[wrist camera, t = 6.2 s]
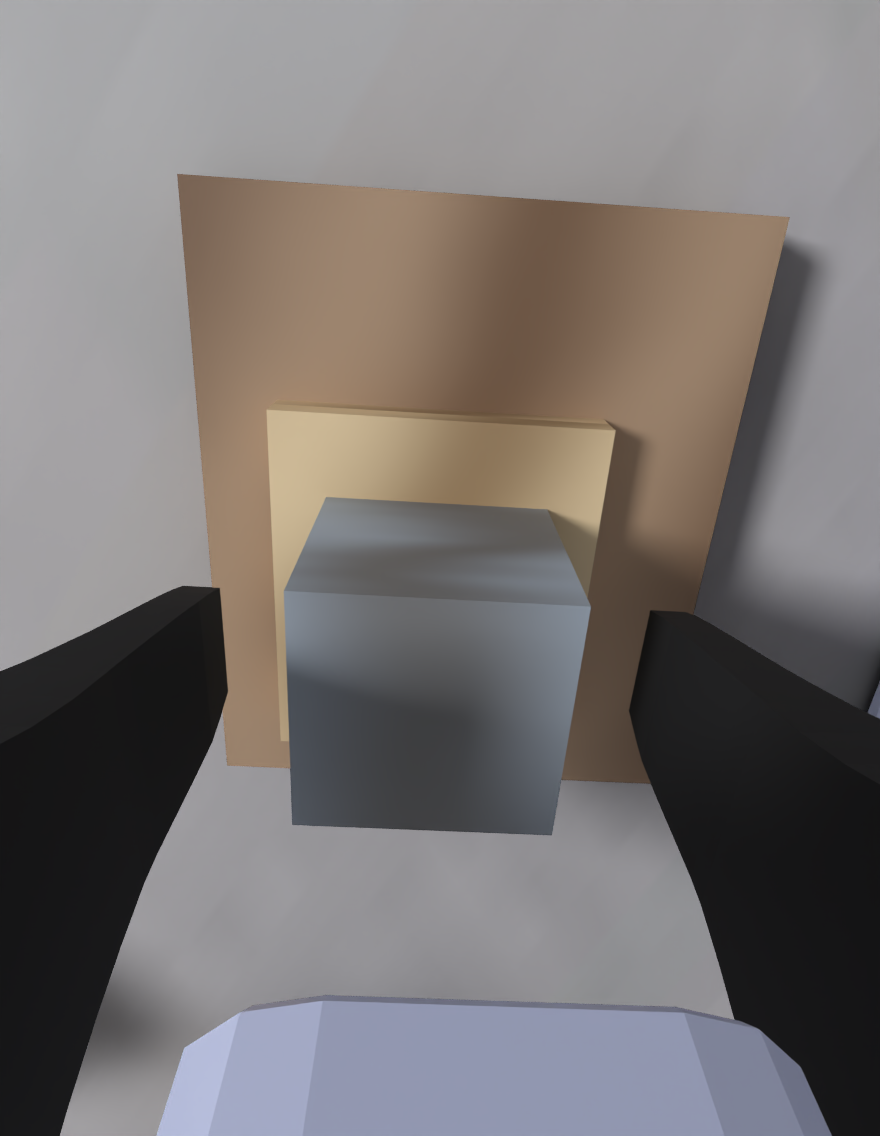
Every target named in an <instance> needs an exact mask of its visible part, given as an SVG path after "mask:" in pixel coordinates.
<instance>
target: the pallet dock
mask: <svg viewBox="0 0 880 1136" xmlns="http://www.w3.org/2000/svg"><path fill="white" fill-rule="evenodd" d="M177 176H178V188H179V199H180V211H181V223H182V235H183V247H184V259H185V270H186V282H187V294H188V306H189V318H190V329H191V341H192V353H193V365H194V377H195V389H196V400H197V412H198V424H199V436H200V448H201V460H202V471H203V483H204V495H205V507H206V519H207V531H208V542H209V554H210V566H211V578H212V587H213V588H220V595H221V607H222V620H223V632H224V645H225V658H226V670H227V683H228V694H227V697H226V700H225V704H224V707H223V720H224V732H225V743H226V755H227V765H228V766H251V767H275V768H290V748H289V741H281V736H280V713H279V690H278V667H277V643H276V620H275V597H274V574H273V550H272V527H271V504H270V481H269V457H268V434H267V411H266V410H267V409H268V408H269V407H270V406H271V405H272V404H273V403H274V402H276V401H277V400H291V401H307V402H324V403H340V404H357V405H374V406H390V407H407V408H423V409H440V410H457V411H473V412H490V413H506V414H523V415H539V416H556V417H573V418H589V419H604V420H605V421H606V422H607V423H608V424H609V425H610V426H611V427H612V428H613V429H614V430H616V431H615V437H614V443H613V449H612V455H611V461H610V467H609V473H608V479H607V485H606V491H605V497H604V503H603V509H602V515H601V520H600V526H599V532H598V538H597V544H596V550H595V556H594V562H593V568H592V574H591V580H590V586H589V592H588V598H587V599H588V601H589V603H590V606H591V610H590V616H589V621H588V627H587V633H586V639H585V645H584V650H583V656H582V662H581V668H580V674H579V679H578V685H577V691H576V697H575V703H574V709H573V714H572V720H571V726H570V732H569V738H568V743H567V749H566V755H565V761H564V767H563V773H562V778H561V780H578V781H601V782H624V783H648V784H651V783H650V780H649V778H648V775H647V773H646V770H645V768H644V765H643V763H642V760H641V757H640V753H639V749H638V746H637V742H636V738H635V734H634V730H633V726H632V722H631V717H630V713H629V707H630V703H631V698H632V693H633V689H634V684H635V679H636V674H637V670H638V665H639V660H640V656H641V651H642V646H643V642H644V637H645V632H646V627H647V623H648V618H649V613H650V610H657V611H677V612H687V613H690V614H692V615H693V613H694V609H695V605H696V601H697V597H698V593H699V589H700V584H701V580H702V576H703V572H704V568H705V564H706V560H707V556H708V551H709V547H710V543H711V539H712V535H713V531H714V527H715V523H716V519H717V514H718V510H719V506H720V502H721V498H722V494H723V490H724V486H725V481H726V477H727V473H728V469H729V465H730V461H731V457H732V453H733V448H734V444H735V440H736V436H737V432H738V428H739V424H740V420H741V416H742V411H743V407H744V403H745V399H746V395H747V391H748V387H749V383H750V378H751V374H752V370H753V366H754V362H755V358H756V354H757V350H758V346H759V341H760V337H761V333H762V329H763V325H764V321H765V317H766V313H767V308H768V304H769V300H770V296H771V292H772V288H773V284H774V280H775V276H776V271H777V267H778V263H779V259H780V255H781V251H782V247H783V243H784V238H785V234H786V230H787V226H788V222H789V218H790V217H778V216H764V215H750V214H736V213H722V212H708V211H693V210H679V209H665V208H651V207H637V206H623V205H608V204H594V203H580V202H566V201H552V200H538V199H523V198H509V197H495V196H481V195H467V194H453V193H438V192H424V191H410V190H396V189H382V188H368V187H353V186H339V185H325V184H311V183H297V182H283V181H268V180H254V179H240V178H226V177H212V176H198V175H183V174H177Z"/></svg>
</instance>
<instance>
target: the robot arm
mask: <svg viewBox="0 0 880 1136" xmlns="http://www.w3.org/2000/svg"><path fill="white" fill-rule="evenodd" d="M227 694H228V683H227V670H226V658H225V645H224V632H223V620H222V607H221V595H220V588H213V587H194V586H181V587H179V588H176V589H173V590H171V591H169V592H166V593H164V594H162V595H160V596H158V597H156V598H154V599H152V600H150V601H148V602H146V603H144V604H142V605H140V606H138V607H136V608H134V609H133V610H131V611H129V612H127V613H125V614H123V615H121V616H119V617H117V618H115V619H113V620H111V621H109V622H107V623H105V624H103V625H101V626H99V627H97V628H96V629H94V630H92V631H90V632H88V633H85V634H83V635H81V636H79V637H77V638H75V639H73V640H70V641H68V642H66V643H64V644H62V645H60V646H58V647H55V648H53V649H51V650H49V651H47V652H45V653H43V654H40V655H38V656H36V657H34V658H32V659H29V660H27V661H25V662H22V663H20V664H18V665H15V666H13V667H10V668H8V669H5V670H3V671H0V1136H60V1133H61V1129H62V1126H63V1122H64V1119H65V1116H66V1112H67V1109H68V1105H69V1102H70V1099H71V1096H72V1093H73V1090H74V1086H75V1083H76V1080H77V1077H78V1074H79V1071H80V1068H81V1064H82V1061H83V1058H84V1055H85V1052H86V1049H87V1046H88V1042H89V1039H90V1036H91V1033H92V1030H93V1027H94V1024H95V1020H96V1017H97V1014H98V1011H99V1009H100V1006H101V1003H102V1000H103V997H104V994H105V991H106V988H107V985H108V982H109V979H110V977H111V974H112V971H113V968H114V965H115V962H116V959H117V956H118V953H119V950H120V947H121V945H122V942H123V939H124V936H125V934H126V931H127V928H128V926H129V923H130V920H131V917H132V915H133V912H134V909H135V907H136V904H137V901H138V898H139V896H140V893H141V890H142V887H143V885H144V882H145V880H146V878H147V876H148V873H149V871H150V869H151V866H152V864H153V862H154V860H155V857H156V855H157V853H158V851H159V849H160V847H161V845H162V843H163V841H164V839H165V837H166V835H167V833H168V831H169V829H170V827H171V825H172V823H173V821H174V819H175V817H176V815H177V813H178V811H179V809H180V807H181V805H182V803H183V801H184V799H185V797H186V795H187V793H188V791H189V789H190V787H191V785H192V783H193V781H194V779H195V776H196V774H197V772H198V770H199V768H200V766H201V764H202V762H203V760H204V758H205V756H206V754H207V752H208V750H209V747H210V745H211V743H212V741H213V738H214V735H215V732H216V729H217V726H218V723H219V720H220V717H221V714H222V710H223V707H224V704H225V700H226V697H227ZM629 713H630V717H631V722H632V726H633V730H634V734H635V738H636V742H637V746H638V749H639V753H640V757H641V760H642V763H643V765H644V768H645V770H646V773H647V775H648V778H649V780H650V783H651V785H652V787H653V790H654V792H655V795H656V797H657V799H658V802H659V804H660V807H661V809H662V811H663V814H664V816H665V818H666V821H667V823H668V825H669V828H670V830H671V832H672V835H673V837H674V839H675V842H676V844H677V846H678V849H679V851H680V853H681V856H682V858H683V860H684V863H685V865H686V867H687V870H688V872H689V874H690V877H691V879H692V882H693V885H694V887H695V890H696V893H697V895H698V898H699V901H700V903H701V906H702V910H703V913H704V916H705V920H706V923H707V926H708V929H709V933H710V936H711V939H712V943H713V946H714V949H715V952H716V956H717V959H718V962H719V966H720V969H721V973H722V976H723V980H724V983H725V987H726V991H727V994H728V998H729V1001H730V1005H731V1009H732V1012H733V1016H734V1019H735V1020H732V1019H728V1018H723V1017H719V1016H714V1015H710V1014H705V1013H701V1012H696V1011H692V1010H687V1009H682V1008H678V1007H663V1006H633V1005H603V1004H573V1003H543V1002H513V1001H483V1000H453V999H423V998H394V997H364V996H334V995H323V996H316V997H309V998H302V999H295V1000H288V1001H281V1002H274V1003H267V1004H260V1005H253V1006H251V1007H249V1008H247V1009H245V1010H243V1011H242V1012H240V1013H238V1014H237V1015H235V1016H233V1017H232V1018H230V1019H229V1020H227V1021H226V1022H224V1023H223V1024H221V1025H219V1026H218V1027H216V1028H215V1029H213V1030H212V1031H210V1032H209V1033H207V1034H205V1035H204V1036H202V1037H201V1038H199V1039H198V1040H196V1041H195V1042H193V1043H191V1044H190V1045H188V1046H187V1047H185V1048H184V1051H183V1054H182V1057H181V1060H180V1063H179V1066H178V1069H177V1073H176V1076H175V1079H174V1082H173V1085H172V1088H171V1092H170V1095H169V1098H168V1101H167V1104H166V1107H165V1110H164V1114H163V1117H162V1120H161V1123H160V1126H159V1129H158V1132H157V1136H880V682H879V685H878V687H877V690H876V692H875V695H874V697H873V700H872V703H871V705H870V708H869V710H868V713H866V712H864V711H862V710H860V709H858V708H856V707H854V706H852V705H850V704H848V703H846V702H844V701H843V700H841V699H839V698H837V697H835V696H833V695H831V694H830V693H828V692H826V691H824V690H822V689H820V688H818V687H817V686H815V685H813V684H811V683H809V682H807V681H806V680H804V679H802V678H800V677H799V676H797V675H795V674H793V673H792V672H790V671H788V670H786V669H785V668H783V667H781V666H780V665H778V664H776V663H775V662H773V661H771V660H770V659H768V658H766V657H765V656H763V655H761V654H760V653H758V652H756V651H755V650H753V649H751V648H750V647H748V646H746V645H745V644H743V643H741V642H740V641H738V640H737V639H735V638H733V637H732V636H730V635H728V634H727V633H725V632H723V631H722V630H720V629H718V628H716V627H715V626H713V625H711V624H710V623H708V622H706V621H704V620H702V619H700V618H698V617H696V616H694V615H692V614H690V613H687V612H677V611H657V610H650V613H649V618H648V623H647V627H646V632H645V637H644V642H643V646H642V651H641V656H640V660H639V665H638V670H637V674H636V679H635V684H634V689H633V693H632V698H631V703H630V707H629Z"/></svg>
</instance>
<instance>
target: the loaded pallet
mask: <svg viewBox="0 0 880 1136" xmlns="http://www.w3.org/2000/svg"><path fill="white" fill-rule="evenodd" d="M266 411H267V434H268V457H269V481H270V504H271V527H272V550H273V574H274V597H275V620H276V643H277V667H278V690H279V713H280V736H281V741H289V748H290V775H291V802H292V825H309V826H334V827H359V828H384V829H409V830H434V831H459V832H483V833H508V834H533V835H552V831H553V825H554V819H555V813H556V807H557V802H558V796H559V790H560V784H561V778H562V773H563V767H564V761H565V755H566V749H567V743H568V738H569V732H570V726H571V720H572V714H573V709H574V703H575V697H576V691H577V685H578V679H579V674H580V668H581V662H582V656H583V650H584V645H585V639H586V633H587V627H588V621H589V616H590V610H591V606H590V603H589V601H588V599H587V598H588V592H589V586H590V580H591V574H592V568H593V562H594V556H595V550H596V544H597V538H598V532H599V526H600V520H601V515H602V509H603V503H604V497H605V491H606V485H607V479H608V473H609V467H610V461H611V455H612V449H613V443H614V437H615V431H616V430H614V429H613V428H612V427H611V426H610V425H609V424H608V423H607V422H606V421H605V420H604V419H589V418H573V417H556V416H539V415H523V414H506V413H490V412H473V411H457V410H440V409H423V408H407V407H390V406H374V405H357V404H340V403H324V402H307V401H291V400H277V401H276V402H274V403H273V404H272V405H271V406H270V407H269V408H268V409H267V410H266Z"/></svg>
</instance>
